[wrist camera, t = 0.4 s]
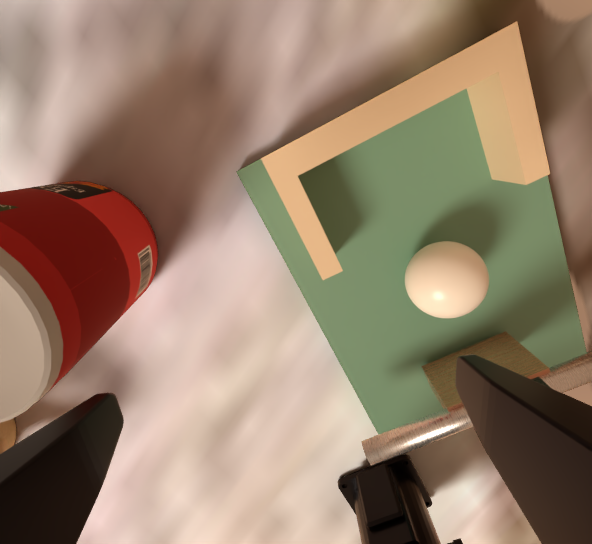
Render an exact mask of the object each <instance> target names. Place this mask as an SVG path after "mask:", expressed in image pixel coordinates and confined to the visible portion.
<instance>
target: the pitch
mask: <svg viewBox="0 0 592 544" xmlns="http://www.w3.org/2000/svg"><path fill="white" fill-rule="evenodd" d="M237 174H238V176H239V178H240V180H241V181H242V183H243V185H244V187H245V189H246V191H247V192H248V194H249V196H250V198H251V200H252V202H253V204H254V205H255V207H256V209H257V211H258V213H259V215H260V216H261V218H262V220H263V222H264V224H265V226H266V228H267V229H268V231H269V233H270V235H271V237H272V239H273V240H274V242H275V244H276V246H277V248H278V250H279V252H280V253H281V255H282V257H283V259H284V261H285V263H286V264H287V266H288V268H289V270H290V272H291V274H292V276H293V277H294V279H295V281H296V283H297V285H298V287H299V288H300V290H301V292H302V294H303V296H304V298H305V300H306V301H307V303H308V305H309V307H310V309H311V311H312V312H313V314H314V316H315V318H316V320H317V322H318V324H319V325H320V327H321V329H322V331H323V333H324V335H325V336H326V338H327V340H328V342H329V344H330V346H331V348H332V349H333V351H334V353H335V355H336V357H337V359H338V360H339V362H340V364H341V366H342V368H343V370H344V372H345V373H346V375H347V377H348V379H349V381H350V383H351V384H352V386H353V388H354V390H355V392H356V394H357V396H358V397H359V399H360V401H361V403H362V405H363V407H364V408H365V410H366V412H367V414H368V416H369V418H370V420H371V421H372V423H373V425H374V427H375V429H376V431H377V432H378V434H382V433H384V432H387V431H389V430H392V429H394V428H397V427H399V426H402V425H404V424H407V423H410V422H412V421H415V420H417V419H420V418H422V417H425V416H427V415H430V414H432V413H435V412H438V411H440V410H443V407H442V405H441V404H440V402H439V400H438V399H437V397H436V396H435V394H434V392H433V391H432V389H431V387H430V385H429V383H428V380H427V378H426V376H425V373H424V371H423V369H422V367H421V366H423V365H426V364H428V363H431V362H433V361H436V360H438V359H440V358H443V357H445V356H448V355H450V354H452V353H455V352H457V351H460V350H462V349H465V348H467V347H469V346H472V345H474V344H477V343H479V342H481V341H484V340H486V339H489V338H491V337H493V336H496V335H498V334H501V333H503V332H507V333H508V334H509V335H511V336H512V337H513V338H514V339H515V340H516V341H518V342H519V343H520V344H521V345H522V346H524V347H525V348H526V349H527V350H528V351H530V352H531V353H532V354H533V355H534V356H535V357H537V358H538V359H539V360H540V361H541V362H543V363H544V364H545V365H546V366H547V367H552V366H555V365H557V364H560V363H562V362H565V361H567V360H570V359H572V358H575V357H577V356H580V355H583V354H585V353H587V352H586V347H585V343H584V338H583V334H582V329H581V325H580V320H579V315H578V311H577V306H576V302H575V297H574V293H573V289H572V284H571V279H570V275H569V270H568V266H567V261H566V257H565V252H564V247H563V243H562V238H561V234H560V229H559V225H558V220H557V216H556V211H555V207H554V202H553V198H552V193H551V189H550V184H549V180H548V175H549V174H550V170H549V165H548V161H547V156H546V152H545V147H544V142H543V138H542V133H541V129H540V124H539V119H538V115H537V110H536V106H535V101H534V96H533V92H532V87H531V83H530V78H529V74H528V69H527V64H526V60H525V55H524V51H523V46H522V41H521V37H520V32H519V28H518V23H517V22H515V23H513V24H511V25H509V26H507V27H505V28H504V29H502V30H500V31H498V32H496V33H494V34H492V35H490V36H489V37H487V38H485V39H483V40H481V41H479V42H477V43H476V44H474V45H472V46H470V47H468V48H466V49H464V50H462V51H461V52H459V53H457V54H455V55H453V56H451V57H449V58H448V59H446V60H444V61H442V62H440V63H438V64H436V65H434V66H433V67H431V68H429V69H427V70H425V71H423V72H421V73H420V74H418V75H416V76H414V77H412V78H410V79H408V80H406V81H405V82H403V83H401V84H399V85H397V86H395V87H393V88H392V89H390V90H388V91H386V92H384V93H382V94H380V95H378V96H377V97H375V98H373V99H371V100H369V101H367V102H365V103H364V104H362V105H360V106H358V107H356V108H354V109H352V110H350V111H349V112H347V113H345V114H343V115H341V116H339V117H337V118H336V119H334V120H332V121H330V122H328V123H326V124H324V125H322V126H321V127H319V128H317V129H315V130H313V131H311V132H309V133H307V134H306V135H304V136H302V137H300V138H298V139H296V140H294V141H293V142H291V143H289V144H287V145H285V146H283V147H281V148H279V149H278V150H276V151H274V152H272V153H270V154H268V155H266V156H265V157H263V158H261V159H259V160H257V161H255V162H254V163H252V164H250V165H248V166H246V167H244V168H242V169H240V170H239V171H237ZM442 241H451V242H457V243H461V244H463V245H466V246H468V247H469V248H471V249H473V250H474V251H475V252H476V253H478V255H479V256H480V257H481V258H482V259H483V261H484V263H485V265H486V267H487V270H488V274H489V286H488V291H487V293H486V296H485V298H484V299H483V301H482V302H481V303H480V305H479V306H478V307H477V308H475V309H474V310H473V311H471V312H470V313H468V314H466V315H463V316H460V317H456V318H438V317H434V316H431V315H429V314H427V313H425V312H423V311H422V310H420V309H419V308H418V307H417V306H416V305H415V304H414V303H413V302H412V301H411V299H410V297H409V295H408V293H407V290H406V287H405V272H406V268H407V266H408V264H409V262H410V260H411V259H412V257H413V256H414V255H415V254H416V253H417V252H418V251H419V250H421V249H422V248H424V247H425V246H427V245H430V244H432V243H436V242H442Z"/></svg>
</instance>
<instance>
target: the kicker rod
mask: <svg viewBox="0 0 592 544" xmlns="http://www.w3.org/2000/svg"><path fill="white" fill-rule="evenodd" d="M471 354H474V355H477V356H480V357H482V358H484V359H486V360H489V361H491V362H493V363H495V364H498V365H500V366H502V367H504V368H507V369H509V370H511V371H513V372H516V373H518V374H520V375H522V376H525V377H527V378H529V379H531V380H534V381H536V382H538V383H540V384H543V385H545V386H547V387H549V388H552V389H554V390H556V391H558V392H561V393H563V392H566V391H568V390H571V389H574V388H577V387H579V386H582V385H584V384H587V383H590V382H592V351H590V352H588V353H585V354H583V355H580V356H577V357H575V358H572V359H570V360H567V361H565V362H562V363H560V364H557V365H555V366H552V367H547V366H546V365H545V364H544V363H543V362H541V361H540V360H539V359H538V358H537V357H535V356H534V355H533V354H532V353H531V352H530V351H528V350H527V349H526V348H525V347H524V346H522V345H521V344H520V343H519V342H518V341H516V340H515V339H514V338H513V337H512V336H511V335H509V334H508V333H507V332H503V333H501V334H498V335H496V336H493V337H491V338H489V339H486V340H484V341H481V342H479V343H477V344H474V345H472V346H469V347H467V348H465V349H462V350H460V351H457V352H455V353H452V354H450V355H448V356H445V357H443V358H440V359H438V360H436V361H433V362H431V363H428V364H426V365H423V366H421V367H422V369H423V371H424V373H425V376H426V378H427V380H428V383H429V385H430V387H431V389H432V391H433V392H434V394H435V396H436V397H437V399H438V400H439V402H440V404H441V405H442V407H443V410H440V411H438V412H435V413H432V414H430V415H427V416H425V417H422V418H420V419H417V420H415V421H412V422H410V423H407V424H404V425H402V426H399V427H397V428H394V429H392V430H389V431H387V432H384V433H382V434H379V435H376V436H374V437H371V438H369V439H366V440H364V441H362V446H363V449H364V452H365V455H366V457H367V459H368V461H369V463H370V465H371V466H372V465H375V464H377V463H380V462H382V461H385V460H388V459H390V458H393V457H396V456H398V455H401V454H403V453H406V452H409V451H411V450H414V449H417V448H419V447H422V446H424V445H427V444H430V443H432V442H435V441H438V440H440V439H443V438H445V437H448V436H451V435H453V434H456V433H459V432H461V431H464V430H466V429H469V428H472V427H474V426H473V424H472V422H471V420H470V418H469V416H468V413H467V411H466V409H465V407H464V405H463V403H462V401H461V399H460V396H459V394H458V392H457V389H456V385H455V379H456V362H457V358H458V357H459V356H462V355H471Z"/></svg>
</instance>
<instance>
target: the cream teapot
mask: <svg viewBox="0 0 592 544" xmlns="http://www.w3.org/2000/svg"><path fill="white" fill-rule="evenodd" d="M15 440H16V424H15V420H14V418H13V419H11V420H7V421H4V422H1V423H0V454H1V453H3V452H4V451H6V450H7V449H9V448H11V447H12V446H14V443H15Z"/></svg>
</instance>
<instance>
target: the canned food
mask: <svg viewBox="0 0 592 544" xmlns="http://www.w3.org/2000/svg"><path fill="white" fill-rule="evenodd" d="M157 259H158V249H157V242H156V238H155V234H154V232H153V229H152V227H151V225H150V223H149V221H148V220H147V218H146V217H145V216H144V214H143V213H142V211H141V210H140V209H139V208H138V207H137V206H136V205H135V204H134V203H133V202H132V201H130V200H129V199H127V198H126V197H125V196H123V195H122V194H120V193H118V192H116V191H114V190H112V189H110V188H107V187H105V186H101V185H98V184H94V183H91V182H82V181H72V182H64V183H57V184H51V185H45V186H38V187H32V188H25V189H19V190H13V191H6V192H0V423H1V422H4V421H7V420H11V419H13V418H14V417H16V416H18V415H20V414H22V413H23V412H25V411H27V410H28V409H29V408H30V407H31V406H32V405H33V404H34V403H36V402H38V401H39V400H40V399H41V398H42V397H43V396H44V395H45V394H46V393H47V392H48V391H50V390H51V389H52V387H53V386H54V385H55V384H56V383H57V382H58V381H59V380H60V379H61V378H62V377H64V376H65V375H66V374H67V373H68V372H69V371H70V370H71V369H72V368H73V366H74V365H75V364H76V363H77V362H78V361H79V360H80V359H81V358H82V357H83V356H84V355H85V354H86V353H87V352H88V351H89V350H90V349H91V348H92V346H93V345H94V344H95V343H96V342H97V341H98V340H99V339H100V338H101V337H102V336H103V335H104V334H105V333H106V332H107V331H108V330H109V329H110V328H111V327H112V325H113V324H114V323H115V322H116V321H117V320H118V319H119V318H120V317H121V316H122V315H123V314H124V313H125V312H126V311H127V310H128V309H129V308H130V307H131V305H132V304H133V303H134V302H135V301H136V300H137V299H138V298H139V297H140V296H141V295H142V294H143V293H144V292H145V291H146V290H147V288H148V287H149V285H150V283H151V282H152V280H153V277H154V274H155V272H156V266H157Z"/></svg>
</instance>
